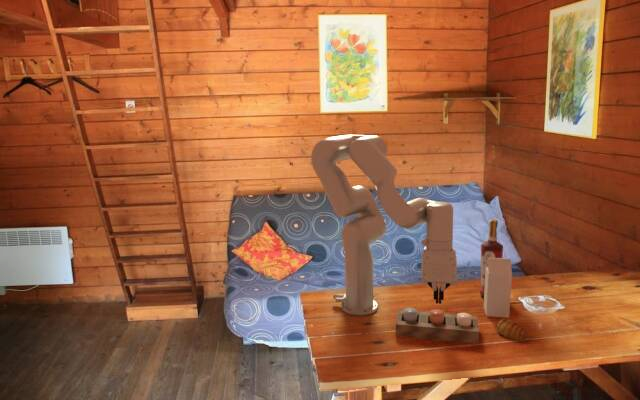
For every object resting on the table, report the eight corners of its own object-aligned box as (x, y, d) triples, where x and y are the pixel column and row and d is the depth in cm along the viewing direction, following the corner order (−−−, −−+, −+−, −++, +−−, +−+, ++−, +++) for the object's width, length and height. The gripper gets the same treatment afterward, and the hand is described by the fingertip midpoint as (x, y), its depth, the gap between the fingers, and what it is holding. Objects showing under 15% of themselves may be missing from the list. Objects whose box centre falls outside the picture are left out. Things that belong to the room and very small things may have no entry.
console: (395, 336, 146) (395, 324, 145) (398, 320, 155) (398, 309, 154) (478, 344, 140) (478, 331, 139) (476, 327, 150) (476, 316, 149)
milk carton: (509, 318, 155) (512, 262, 151) (486, 316, 156) (489, 261, 152) (505, 308, 162) (508, 255, 157) (483, 307, 163) (486, 254, 159)
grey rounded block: (402, 325, 148) (402, 313, 147) (403, 318, 152) (404, 307, 151) (416, 326, 147) (416, 314, 146) (417, 320, 151) (417, 308, 150)
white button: (456, 330, 144) (457, 318, 143) (456, 324, 148) (456, 312, 147) (471, 332, 143) (471, 319, 142) (470, 325, 147) (471, 313, 146)
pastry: (534, 337, 143) (535, 325, 143) (522, 345, 139) (523, 333, 138) (505, 326, 151) (506, 314, 150) (493, 333, 147) (494, 321, 146)
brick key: (429, 327, 146) (429, 315, 145) (429, 320, 150) (430, 308, 149) (443, 328, 145) (444, 316, 144) (443, 321, 149) (444, 310, 148)
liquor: (476, 297, 170) (480, 222, 164) (481, 290, 177) (485, 216, 170) (497, 301, 167) (502, 224, 160) (502, 294, 173) (506, 219, 166)
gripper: (412, 247, 139) (412, 305, 143) (466, 249, 136) (464, 308, 140) (414, 239, 147) (414, 295, 151) (465, 241, 143) (463, 298, 147)
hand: (438, 301), depth 145 cm, fingers closed
